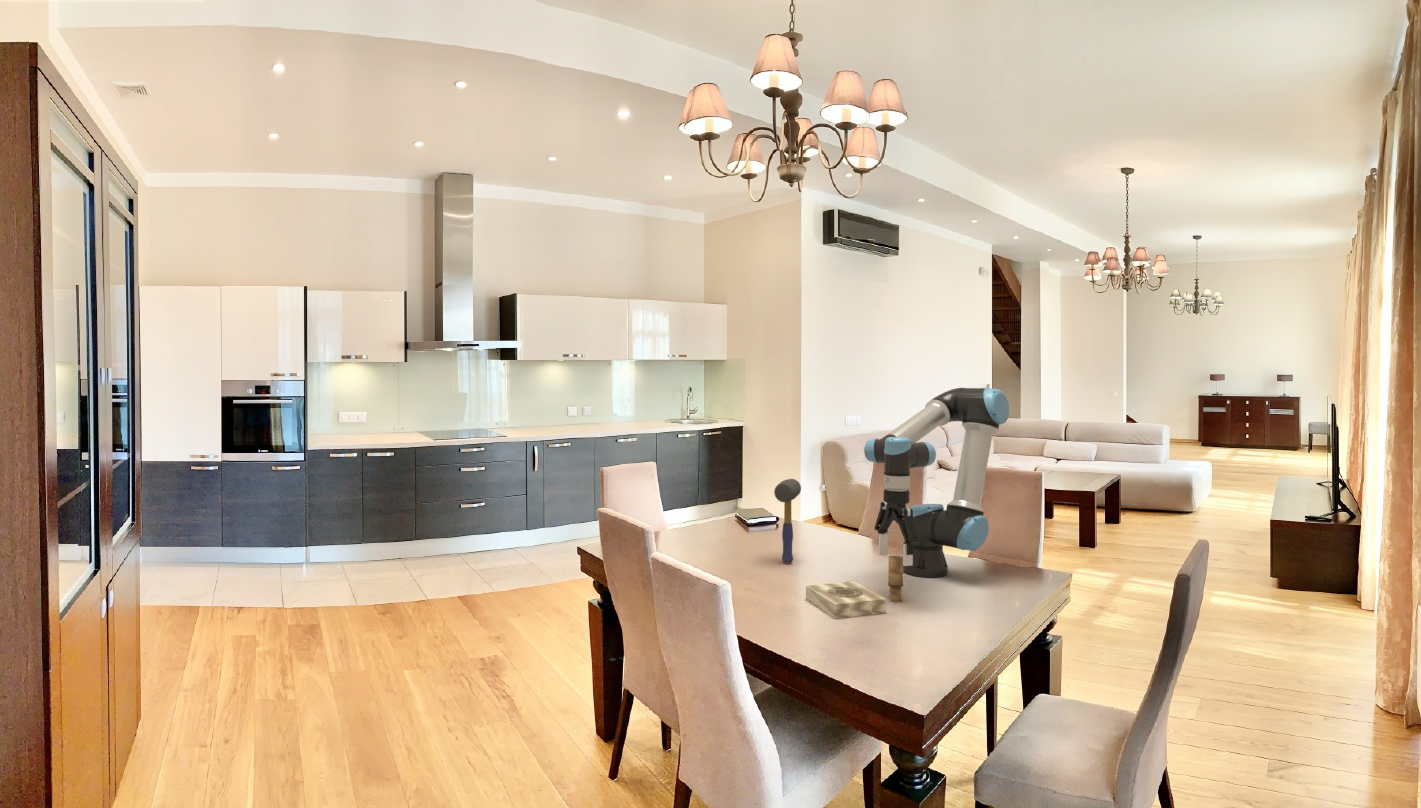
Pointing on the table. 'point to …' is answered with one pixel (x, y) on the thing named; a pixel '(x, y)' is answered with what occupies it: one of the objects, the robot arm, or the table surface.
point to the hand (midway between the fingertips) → (895, 560)
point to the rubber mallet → (787, 514)
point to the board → (845, 599)
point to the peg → (895, 577)
